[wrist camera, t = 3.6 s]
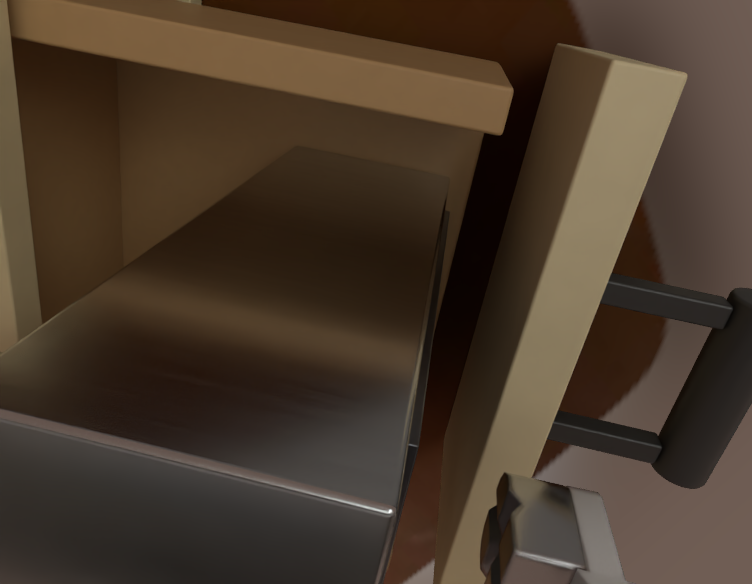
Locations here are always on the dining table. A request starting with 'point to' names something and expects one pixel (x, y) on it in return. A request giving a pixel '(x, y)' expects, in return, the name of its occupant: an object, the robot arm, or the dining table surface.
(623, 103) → the drawer
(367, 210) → the brushed metal box
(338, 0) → the dining table surface
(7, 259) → the cabinet
